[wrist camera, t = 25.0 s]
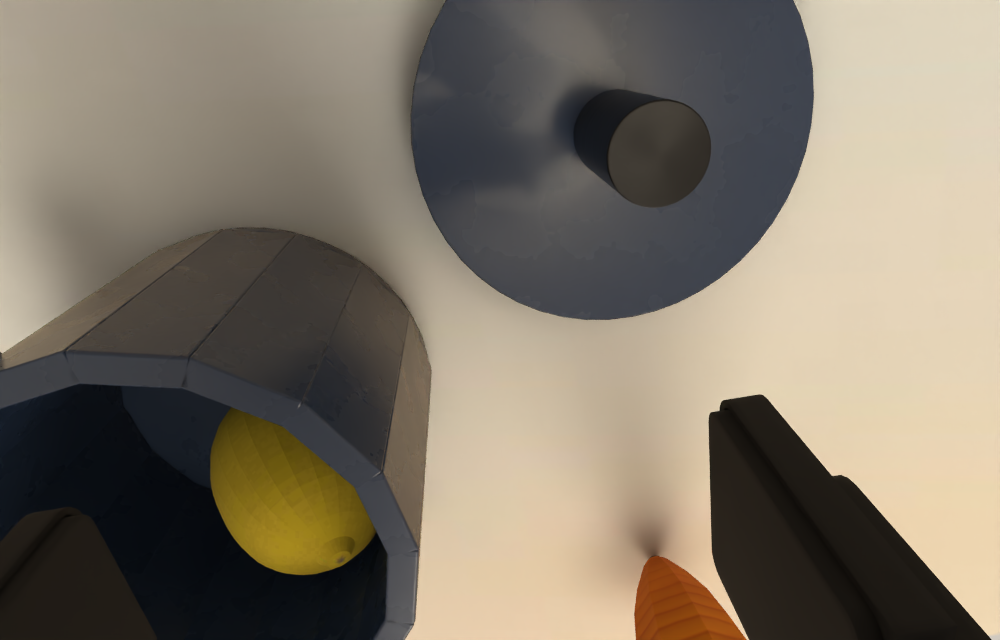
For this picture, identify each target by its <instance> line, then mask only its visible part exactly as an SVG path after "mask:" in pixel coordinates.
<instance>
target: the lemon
mask: <svg viewBox="0 0 1000 640" xmlns="http://www.w3.org/2000/svg"><path fill="white" fill-rule="evenodd" d="M210 480H211V488H212V492H213V496H214V499H215V502H216V505H217V507H218V509H219V512H220V514H221V516H222V519H223V521H224V523H225V525H226V527H227V528H228V530H229V532H230V533H231V535H232V536H233V538H234V539H235V540H236V542H237V543H238V544H239V545H240V546H241V547H242V548H243V549H244V550H245V551H246V552H247V553H248V554H249V555H250V556H251V557H252V558H253V559H255V560H256V561H257V562H258V563H260V564H262V565H264V566H265V567H268V568H270V569H273V570H275V571H278V572H282V573H286V574H295V575H309V574H318V573H322V572H325V571H329V570H332V569H334V568H337V567H340V566H342V565H344V564H345V563H347V562H348V561H350V560H351V559H352V558H354V557H355V556H356V555H357V554H359V553H360V552H361V551H362V550H363V549H364V548H365V547H366V546H367V545H368V544H369V543H370V541H371V540H372V538H373V537H374V535H375V534H376V530H375V528H374V526H373V524H372V522H371V520H370V518H369V516H368V514H367V512H366V510H365V508H364V506H363V504H362V502H361V500H360V498H359V496H358V494H357V492H356V490H355V488H354V487H353V486H352V485H351V484H350V483H349V482H348V481H346V480H345V479H344V478H343V477H342V476H340V475H339V474H338V473H337V472H336V471H335V470H333V469H332V468H331V467H330V466H329V465H327V464H326V463H325V462H324V461H323V460H322V459H320V458H319V457H318V456H317V455H316V454H314V453H313V452H312V451H311V450H310V449H309V448H307V447H306V446H305V445H304V444H303V443H301V442H300V441H299V440H298V439H297V438H296V437H294V436H293V435H292V434H291V433H290V432H288V431H287V430H286V429H285V428H284V427H282V426H279V425H277V424H274V423H272V422H269V421H266V420H264V419H261V418H259V417H256V416H253V415H251V414H248V413H245V412H243V411H240V410H238V409H235V408H232V407H231V408H230V410H229V411H228V413H227V414H226V416H225V417H224V418H223V420H222V422H221V423H220V425H219V427H218V430H217V433H216V436H215V438H214V441H213V444H212V448H211V454H210Z"/></svg>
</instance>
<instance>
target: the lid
mask: <svg viewBox="0 0 1000 640" xmlns="http://www.w3.org/2000/svg"><path fill="white" fill-rule="evenodd" d="M813 100H814V90H813V68H812V62H811V56H810V50H809V44H808V40H807V36H806V33H805V30H804V27H803V23H802V20H801V17H800V14H799V12H798V10H797V8H796V5H795V3H794V1H793V0H446V1H445V3H444V5H443V7H442V9H441V11H440V13H439V15H438V16H437V18H436V20H435V22H434V24H433V26H432V28H431V30H430V33H429V35H428V38H427V41H426V44H425V46H424V49H423V52H422V54H421V57H420V61H419V65H418V70H417V74H416V78H415V83H414V88H413V98H412V108H411V143H412V150H413V156H414V163H415V169H416V173H417V177H418V180H419V184H420V187H421V190H422V194H423V197H424V199H425V201H426V204H427V206H428V208H429V211H430V213H431V215H432V218H433V220H434V221H435V223H436V225H437V226H438V228H439V230H440V231H441V233H442V235H443V236H444V238H445V240H446V241H447V243H448V244H449V245H450V246H451V248H452V249H453V250H454V251H455V253H456V254H457V255H458V256H459V258H460V259H461V260H462V261H463V262H464V263H465V264H466V265H467V266H468V267H469V268H470V269H471V270H472V271H473V272H474V273H475V274H476V275H477V276H478V277H479V278H481V279H482V280H483V281H485V282H486V283H488V284H489V285H490V286H492V287H493V288H494V289H496V290H497V291H498V292H500V293H502V294H504V295H506V296H507V297H509V298H511V299H513V300H515V301H516V302H518V303H521V304H523V305H526V306H528V307H531V308H533V309H536V310H538V311H541V312H545V313H549V314H553V315H557V316H561V317H568V318H576V319H584V320H610V319H618V318H626V317H633V316H637V315H641V314H646V313H650V312H654V311H657V310H659V309H662V308H665V307H668V306H670V305H673V304H676V303H678V302H680V301H682V300H684V299H686V298H688V297H690V296H692V295H694V294H696V293H698V292H700V291H701V290H703V289H704V288H706V287H707V286H709V285H710V284H712V283H713V282H715V281H716V280H718V279H719V278H721V277H722V276H723V275H724V274H725V273H727V272H728V271H729V270H730V269H731V268H733V267H734V266H735V265H736V264H737V263H738V262H740V261H741V259H742V258H743V257H744V256H745V255H746V254H747V253H748V252H749V251H750V250H751V249H752V248H753V247H754V246H755V245H756V244H757V243H758V241H759V240H760V239H761V237H762V236H763V235H764V234H765V232H766V231H767V230H768V228H769V227H770V226H771V224H772V223H773V221H774V220H775V218H776V217H777V215H778V213H779V212H780V210H781V208H782V207H783V205H784V203H785V202H786V200H787V198H788V196H789V193H790V191H791V189H792V187H793V185H794V183H795V180H796V178H797V176H798V173H799V170H800V167H801V164H802V161H803V158H804V155H805V152H806V148H807V143H808V138H809V133H810V128H811V123H812V111H813Z"/></svg>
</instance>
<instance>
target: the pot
mask: <svg viewBox="0 0 1000 640" xmlns="http://www.w3.org/2000/svg"><path fill="white" fill-rule="evenodd" d="M431 371H432V370H431V366H430V363H429V361H428V356H427V352H426V349H425V346H424V343H423V339H422V336H421V334H420V332H419V330H418V328H417V326H416V324H415V321H414V319H413V317H412V316H411V314H410V313H409V311H408V310H407V308H406V307H405V305H404V304H403V302H402V301H401V299H400V298H399V297H398V296H397V295H396V294H395V292H394V291H393V290H392V289H391V288H390V287H389V286H388V284H387V283H385V282H384V281H383V280H382V279H381V278H380V277H379V276H378V275H377V274H375V273H374V272H373V271H372V270H371V269H370V268H368V267H367V266H365V265H364V264H362V263H361V262H360V261H358V260H357V259H355V258H354V257H352V256H351V255H349V254H347V253H345V252H343V251H341V250H339V249H337V248H336V247H334V246H332V245H329V244H327V243H324V242H322V241H319V240H316V239H314V238H311V237H308V236H304V235H300V234H296V233H293V232H289V231H283V230H275V229H268V228H234V229H225V230H223V229H221V230H217V231H213V232H209V233H205V234H201V235H197V236H194V237H191V238H189V239H187V240H184V241H182V242H179V243H177V244H174V245H172V246H169V247H166V248H163V249H160V250H158V251H156V252H155V253H153V254H152V255H150V256H149V257H147V258H146V259H144V260H143V261H141V262H140V263H138V264H137V265H135V266H134V267H132V268H131V269H129V270H128V271H126V272H125V273H123V274H121V275H120V276H118V277H117V278H115V279H114V280H112V281H111V282H109V283H108V284H106V285H105V286H103V287H102V288H100V289H99V290H97V291H96V292H94V293H93V294H91V295H90V296H88V297H87V298H85V299H84V300H82V301H81V302H79V303H78V304H76V305H75V306H73V307H72V308H70V309H69V310H67V311H66V312H64V313H63V314H61V315H60V316H58V317H57V318H55V319H54V320H52V321H51V322H49V323H48V324H46V325H45V326H43V327H42V328H40V329H39V330H37V331H36V332H34V333H33V334H31V335H30V336H28V337H27V338H25V339H24V340H22V341H21V342H19V343H18V344H16V345H15V346H13V347H12V348H10V349H9V350H7V351H6V352H4V353H3V354H2V353H1V352H0V542H1V541H2V540H3V538H4V537H5V536H6V535H7V534H8V533H9V532H10V531H11V530H12V529H13V528H14V526H15V525H16V524H17V523H18V522H19V521H20V520H21V519H22V518H24V517H25V516H26V515H28V514H31V513H35V512H41V511H47V510H53V509H59V508H65V507H73V508H76V509H77V510H79V511H80V512H81V513H82V514H83V515H87V516H89V517H91V519H92V520H93V521H94V523H95V525H96V527H97V528H98V530H99V532H100V534H101V536H102V538H103V539H104V541H105V543H106V545H107V547H108V549H109V550H110V552H111V554H112V556H113V558H114V560H115V561H116V563H117V565H118V567H119V569H120V571H121V572H122V574H123V576H124V578H125V580H126V582H127V583H128V585H129V587H130V589H131V591H132V593H133V594H134V596H135V598H136V600H137V602H138V604H139V605H140V607H141V609H142V611H143V613H144V615H145V616H146V618H147V620H148V622H149V624H150V626H151V627H152V629H153V631H154V633H155V635H156V637H157V640H405V638H406V637H407V635H408V633H409V632H410V630H411V629H412V627H413V625H414V622H415V618H416V603H417V588H418V573H419V558H420V543H421V528H422V512H423V497H424V482H425V467H426V452H427V437H428V422H429V405H430V388H431ZM231 407H232V408H235V409H238V410H240V411H243V412H245V413H248V414H251V415H253V416H256V417H259V418H261V419H264V420H266V421H269V422H272V423H274V424H277V425H279V426H282V427H284V428H285V429H286V430H287V431H288V432H290V433H291V434H292V435H293V436H294V437H296V438H297V439H298V440H299V441H300V442H301V443H303V444H304V445H305V446H306V447H307V448H309V449H310V450H311V451H312V452H313V453H314V454H316V455H317V456H318V457H319V458H320V459H322V460H323V461H324V462H325V463H326V464H327V465H329V466H330V467H331V468H332V469H333V470H335V471H336V472H337V473H338V474H339V475H340V476H342V477H343V478H344V479H345V480H346V481H348V482H349V483H350V484H351V485H352V486H353V487H354V488H355V490H356V492H357V494H358V496H359V498H360V500H361V502H362V504H363V506H364V508H365V510H366V512H367V514H368V516H369V518H370V520H371V522H372V524H373V526H374V528H375V530H376V534H375V535H374V537H373V538H372V540H371V541H370V543H369V544H368V545H367V546H366V547H365V548H364V549H363V550H362V551H361V552H360V553H359V554H357V555H356V556H355V557H354V558H352V559H351V560H350V561H348V562H347V563H345V564H344V565H342V566H340V567H337V568H334V569H332V570H329V571H325V572H322V573H318V574H309V575H295V574H286V573H282V572H278V571H275V570H273V569H270V568H268V567H265V566H264V565H262V564H260V563H258V562H257V561H256V560H255V559H253V558H252V557H251V556H250V555H249V554H248V553H247V552H246V551H245V550H244V549H243V548H242V547H241V546H240V545H239V544H238V543H237V542H236V540H235V539H234V538H233V536H232V535H231V533H230V532H229V530H228V528H227V527H226V525H225V523H224V521H223V519H222V516H221V514H220V512H219V509H218V507H217V505H216V502H215V499H214V496H213V492H212V488H211V480H210V454H211V448H212V444H213V441H214V438H215V436H216V433H217V430H218V427H219V425H220V423H221V422H222V420H223V418H224V417H225V416H226V414H227V413H228V411H229V410H230V408H231Z"/></svg>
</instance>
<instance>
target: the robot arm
mask: <svg viewBox="0 0 1000 640" xmlns="http://www.w3.org/2000/svg"><path fill="white" fill-rule="evenodd" d="M709 454H710V495H711V535H712V554H713V559H714V563H715V566H716V569H717V572H718V575H719V577H720V579H721V581H722V583H723V585H724V587H725V590H726V592H727V594H728V596H729V598H730V600H731V602H732V604H733V606H734V609H735V611H736V613H737V615H738V617H739V619H740V621H741V623H742V625H743V628H744V630H745V632H746V634H747V636H748V638H749V640H991V639H990V637H989V636H988V635H987V634H986V633H985V632H984V631H983V629H982V628H981V627H980V626H979V625H978V624H977V623H976V621H975V620H974V619H973V618H972V617H971V616H970V615H969V613H968V612H967V611H966V610H965V609H964V608H963V607H962V605H961V604H960V603H959V602H958V601H957V600H956V599H955V597H954V596H953V595H952V594H951V593H950V592H949V591H948V589H947V588H946V587H945V586H944V585H943V584H942V583H941V581H940V580H939V579H938V578H937V577H936V576H935V575H934V573H933V572H932V571H931V570H930V569H929V568H928V567H927V565H926V564H925V563H924V562H923V561H922V560H921V559H920V557H919V556H918V555H917V554H916V553H915V552H914V551H913V550H912V548H911V547H910V546H909V545H908V544H907V543H906V542H905V540H904V539H903V538H902V537H901V536H900V535H899V534H898V532H897V531H896V530H895V529H894V528H893V527H892V526H891V524H890V523H889V522H888V521H887V520H886V519H885V518H884V516H883V515H882V514H881V513H880V512H879V511H878V510H877V508H876V507H875V506H874V505H873V504H872V503H871V502H870V500H869V499H868V498H867V497H866V496H865V495H864V494H863V492H862V491H861V490H860V489H859V488H858V487H857V486H856V485H855V484H854V483H853V482H852V481H851V480H850V479H849V478H847V477H844V476H842V475H838V476H831V474H830V473H829V472H828V471H827V470H826V468H825V467H824V466H823V465H822V464H821V462H820V461H819V460H818V459H817V458H816V457H815V455H814V454H813V453H812V452H811V451H810V449H809V448H808V447H807V446H806V445H805V443H804V442H803V441H802V440H801V439H800V437H799V436H798V435H797V434H796V433H795V431H794V430H793V429H792V428H791V427H790V426H789V424H788V423H787V422H786V421H785V420H784V418H783V417H782V416H781V415H780V414H779V412H778V411H777V410H776V409H775V408H774V406H773V405H772V404H771V403H770V402H769V400H768V399H767V398H766V397H764V396H763V395H753V396H747V397H741V398H735V399H729V400H723V401H722V402H721V405H720V411H717V412H711V413H710V415H709ZM0 640H157V637H156V635H155V633H154V631H153V629H152V627H151V626H150V624H149V622H148V620H147V618H146V616H145V615H144V613H143V611H142V609H141V607H140V605H139V604H138V602H137V600H136V598H135V596H134V594H133V593H132V591H131V589H130V587H129V585H128V583H127V582H126V580H125V578H124V576H123V574H122V572H121V571H120V569H119V567H118V565H117V563H116V561H115V560H114V558H113V556H112V554H111V552H110V550H109V549H108V547H107V545H106V543H105V541H104V539H103V538H102V536H101V534H100V532H99V530H98V528H97V527H96V525H95V523H94V521H93V520H92V519H91V517H89V516H87V515H83V514H82V513H81V512H80V511H79V510H77V509H76V508H73V507H65V508H59V509H53V510H47V511H41V512H35V513H31V514H28V515H26V516H25V517H24V518H22V519H21V520H20V521H19V522H18V523H17V524H16V525H15V526H14V528H13V529H12V530H11V531H10V532H9V533H8V534H7V535H6V536H5V537H4V538H3V540H2V541H1V542H0Z"/></svg>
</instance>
